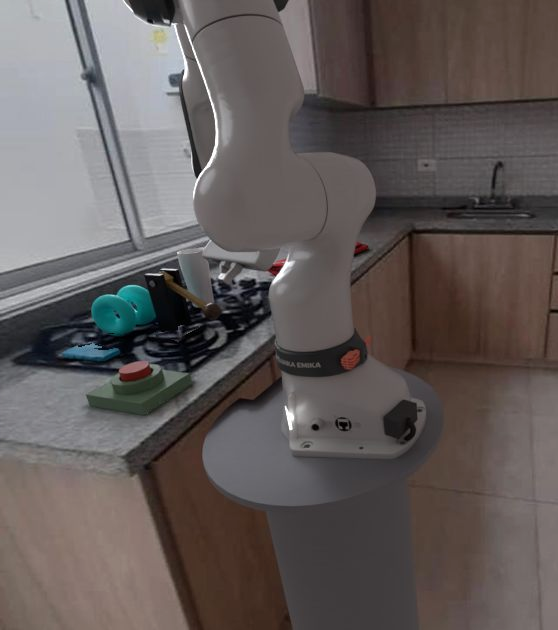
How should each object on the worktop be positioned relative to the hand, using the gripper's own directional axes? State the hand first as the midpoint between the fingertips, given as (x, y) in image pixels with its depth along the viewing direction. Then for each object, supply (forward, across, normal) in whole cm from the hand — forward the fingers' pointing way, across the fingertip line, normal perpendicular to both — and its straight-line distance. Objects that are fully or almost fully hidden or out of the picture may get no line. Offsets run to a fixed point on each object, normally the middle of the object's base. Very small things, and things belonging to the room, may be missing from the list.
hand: (222, 282), depth 96 cm
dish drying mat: (-32, -29, +49) cm, 66 cm away
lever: (+6, -7, -1) cm, 9 cm away
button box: (+26, +9, -9) cm, 29 cm away
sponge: (+24, -18, -7) cm, 30 cm away
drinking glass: (+2, -25, +15) cm, 29 cm away
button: (+23, +9, -12) cm, 28 cm away
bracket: (+13, -11, +4) cm, 18 cm away
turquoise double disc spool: (+16, -25, +1) cm, 29 cm away
